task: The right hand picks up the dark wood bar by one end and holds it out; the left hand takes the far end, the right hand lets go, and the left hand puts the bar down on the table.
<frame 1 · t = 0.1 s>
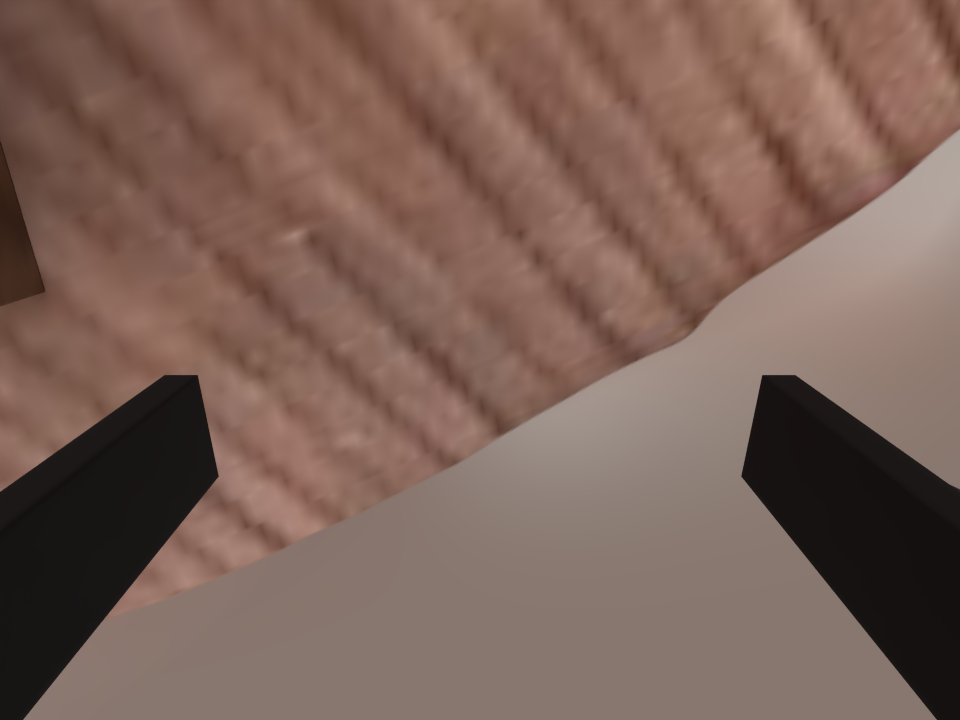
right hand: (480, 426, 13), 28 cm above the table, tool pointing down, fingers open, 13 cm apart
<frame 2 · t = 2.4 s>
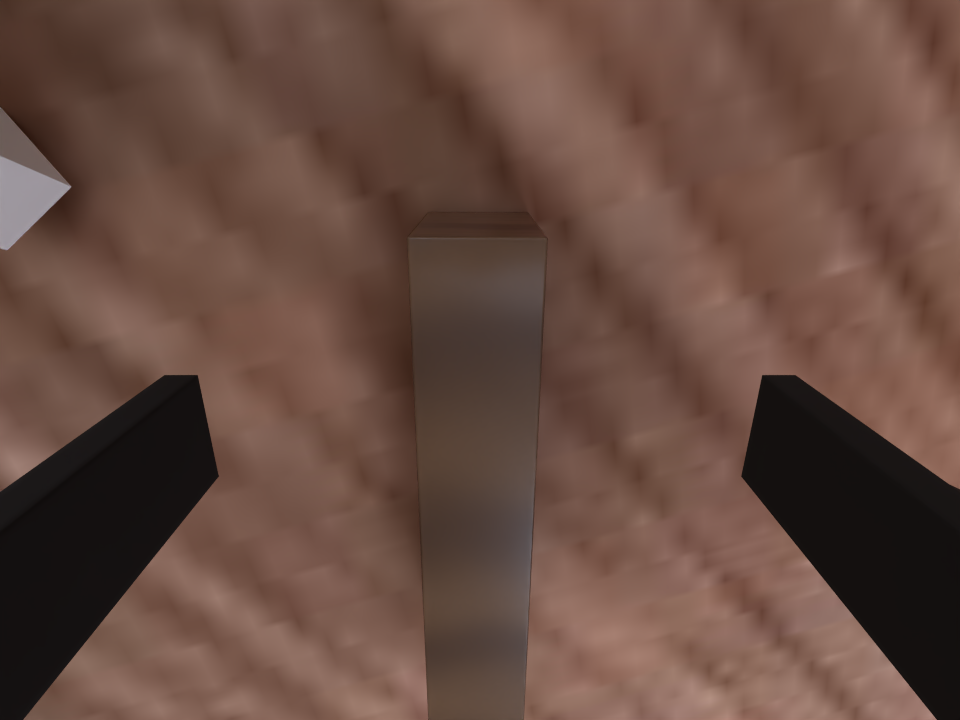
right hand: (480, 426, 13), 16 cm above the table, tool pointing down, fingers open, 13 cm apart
bar: (477, 440, 31), on the table
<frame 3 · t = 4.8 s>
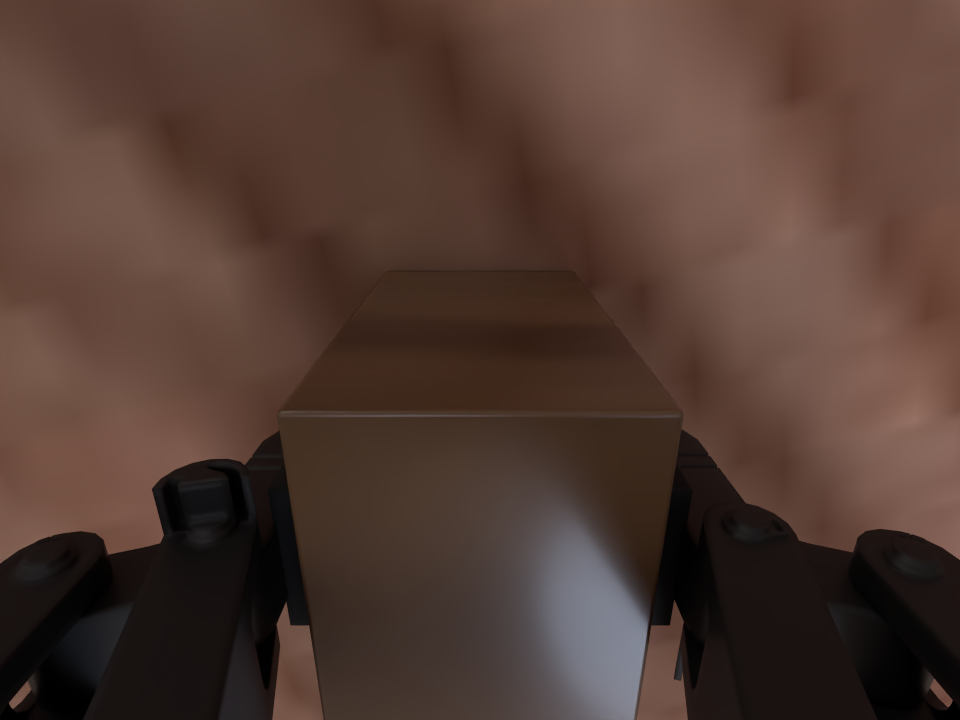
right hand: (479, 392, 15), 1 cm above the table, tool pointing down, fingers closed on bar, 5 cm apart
bar: (480, 635, 19), on the table, touching right hand
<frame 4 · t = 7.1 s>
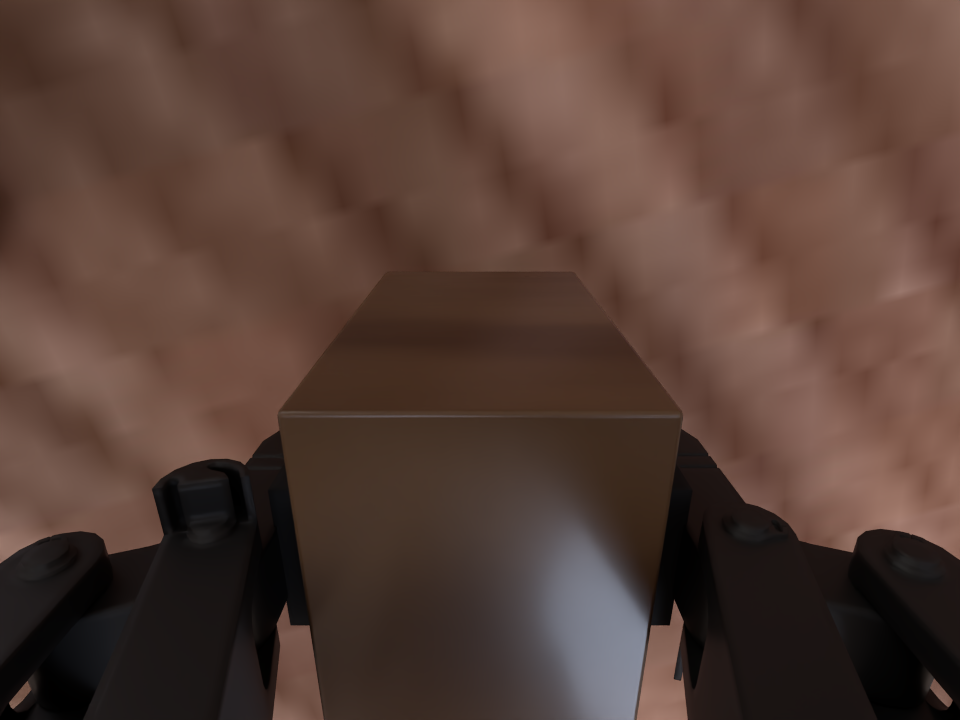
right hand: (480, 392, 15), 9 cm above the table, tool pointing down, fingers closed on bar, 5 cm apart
bar: (480, 635, 19), point 9 cm above the table, touching right hand
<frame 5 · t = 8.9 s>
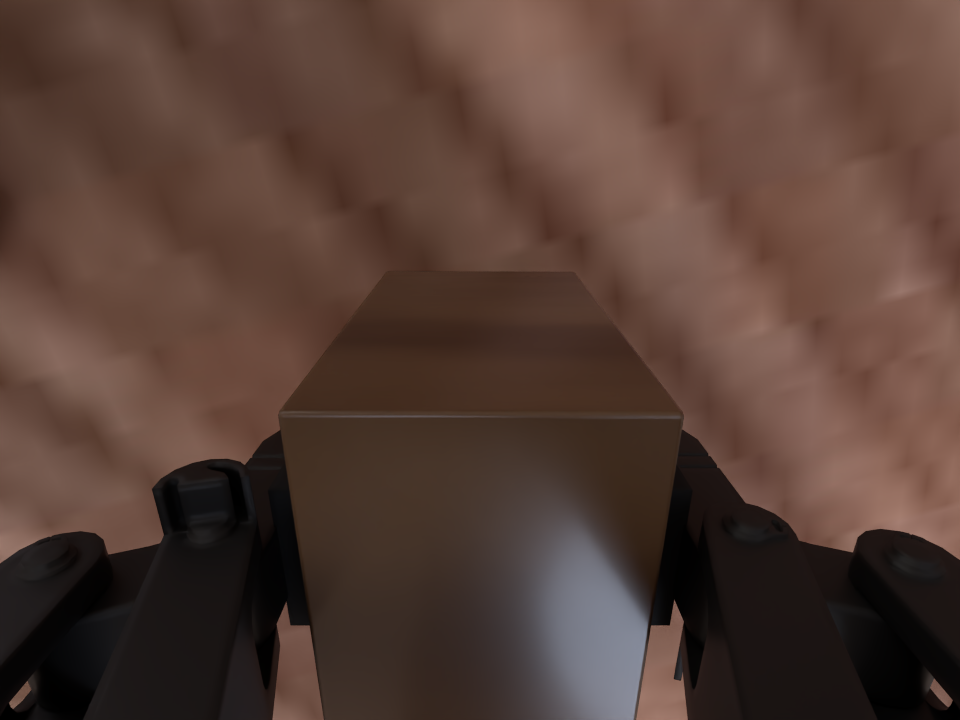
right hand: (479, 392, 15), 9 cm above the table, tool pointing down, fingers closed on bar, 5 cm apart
bar: (479, 635, 19), point 9 cm above the table, touching right hand, left hand
when the right hand's fingers open (9 cm above the table, at t = 9.7 s): bar stays where it is, held by the left hand.
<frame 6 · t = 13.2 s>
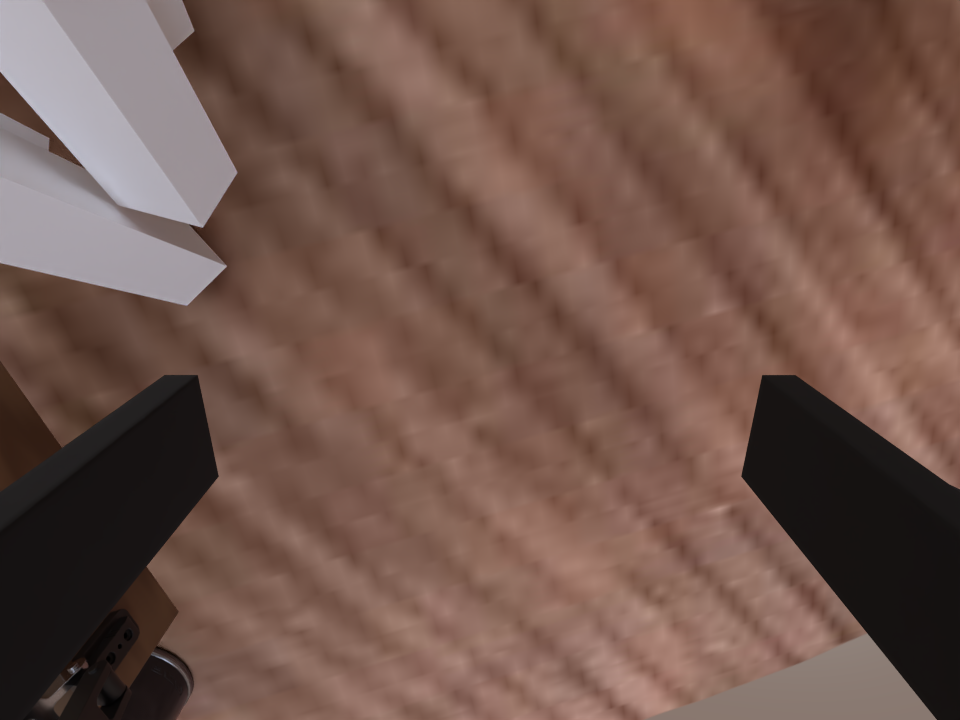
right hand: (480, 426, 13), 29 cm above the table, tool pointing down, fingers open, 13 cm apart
bar: (40, 474, 34), point 12 cm above the table, touching left hand
when the left hand's fingers open (5 cm above the table, at t = 17.4 s): bar drops 2 cm, on the table.
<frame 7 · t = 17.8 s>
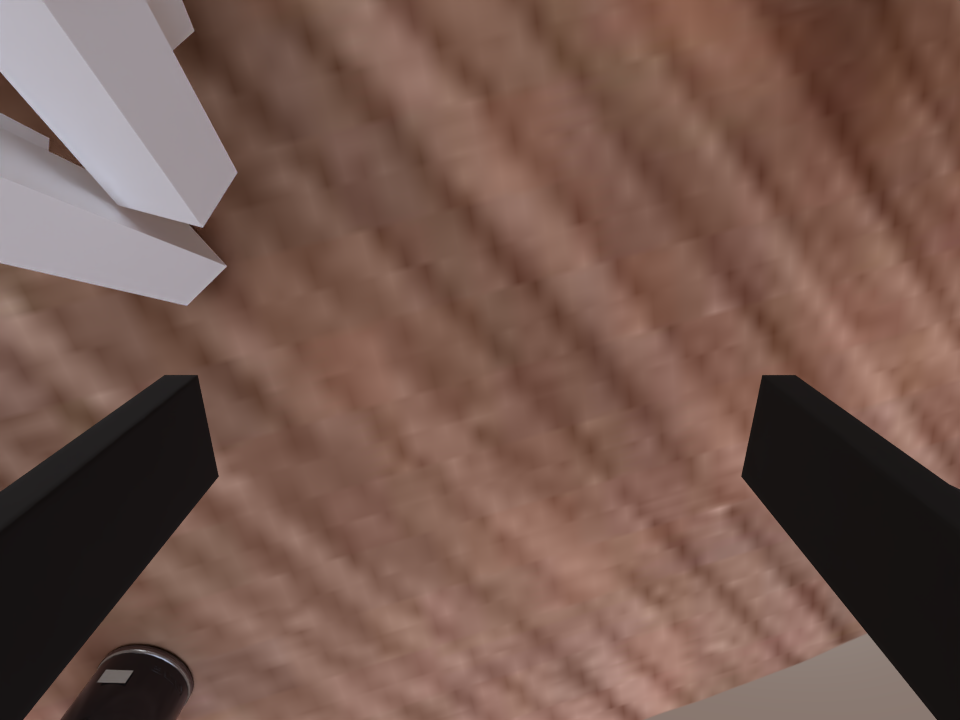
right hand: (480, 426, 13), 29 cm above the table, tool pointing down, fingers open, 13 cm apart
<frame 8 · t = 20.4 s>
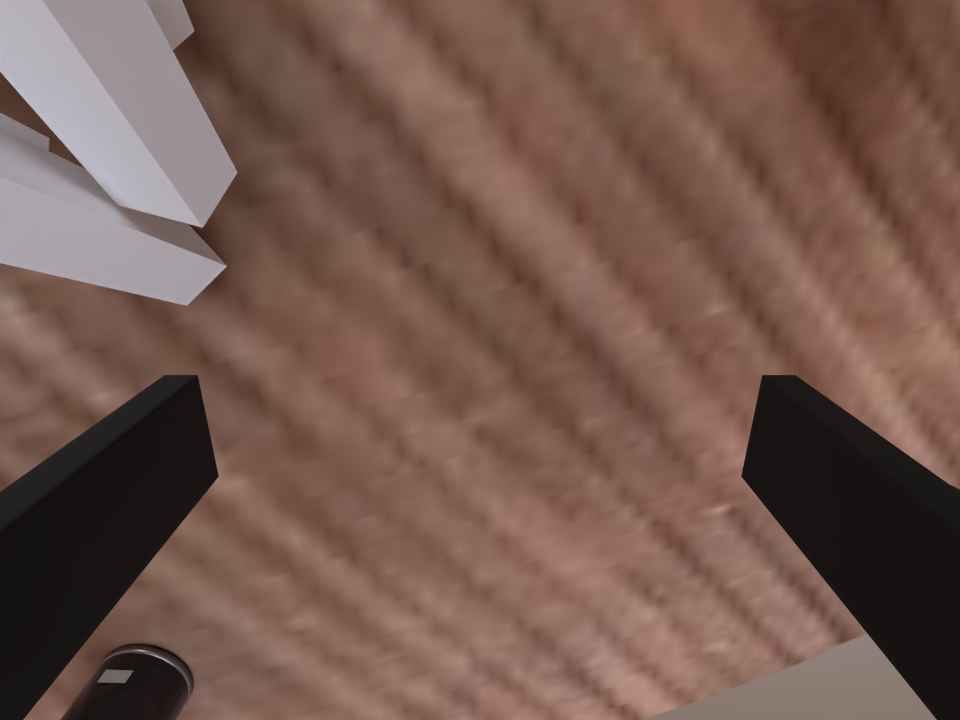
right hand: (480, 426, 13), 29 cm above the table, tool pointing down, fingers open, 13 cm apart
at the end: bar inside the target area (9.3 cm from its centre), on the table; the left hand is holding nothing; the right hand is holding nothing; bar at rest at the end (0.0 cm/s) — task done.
